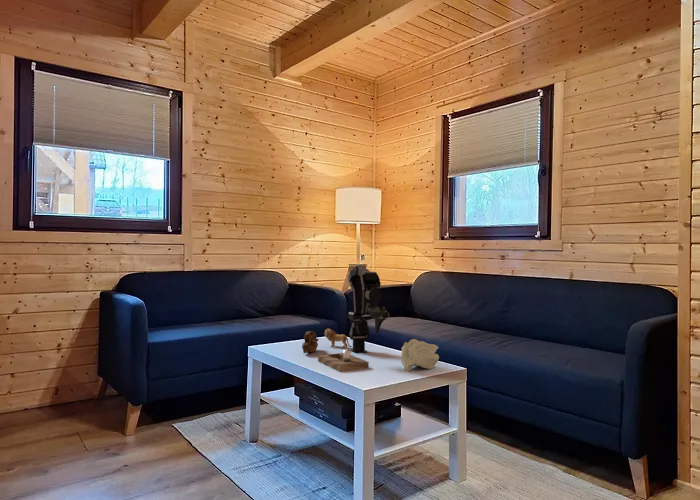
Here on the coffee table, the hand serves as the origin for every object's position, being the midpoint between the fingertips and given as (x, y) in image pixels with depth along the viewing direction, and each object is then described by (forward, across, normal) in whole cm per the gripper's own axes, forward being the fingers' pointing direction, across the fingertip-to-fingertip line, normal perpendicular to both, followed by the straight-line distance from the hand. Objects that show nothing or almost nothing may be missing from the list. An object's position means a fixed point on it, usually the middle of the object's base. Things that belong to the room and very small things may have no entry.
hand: (368, 333), depth 220 cm
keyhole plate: (+12, -15, -4) cm, 19 cm away
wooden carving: (+12, -17, +24) cm, 32 cm away
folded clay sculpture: (+12, +12, -22) cm, 28 cm away
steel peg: (+12, -14, -7) cm, 20 cm away
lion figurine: (+13, 0, +30) cm, 33 cm away
